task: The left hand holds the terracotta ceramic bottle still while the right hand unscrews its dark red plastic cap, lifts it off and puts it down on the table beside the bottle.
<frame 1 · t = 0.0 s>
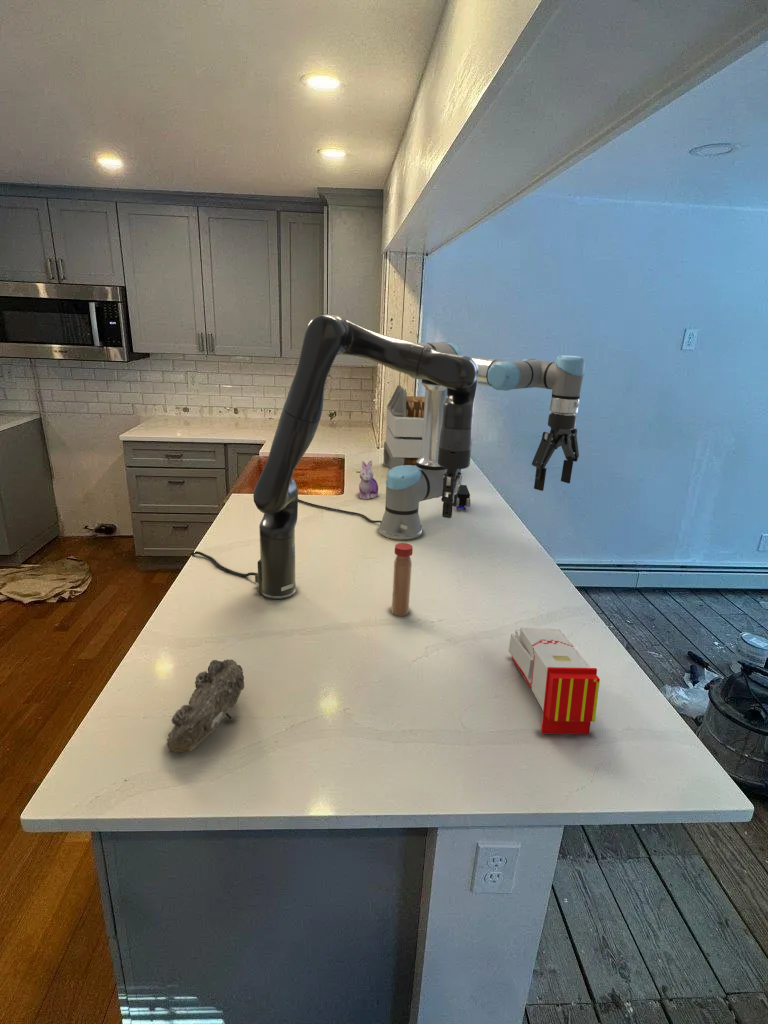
left hand: (449, 511, 137), 29 cm above the counter, tool pointing down, fingers open, 8 cm apart
right hand: (552, 485, 166), 28 cm above the counter, tool pointing down, fingers open, 13 cm apart
fossil: (212, 717, 108), on the counter
figurine: (368, 496, 238), on the counter
figurine character: (459, 506, 231), on the counter
bottle: (400, 611, 149), on the counter
toy: (543, 689, 120), on the counter
feather: (277, 517, 210), on the counter
cap: (403, 547, 143), point 18 cm above the counter, screwed on, not yet turned
grey tiered storage bin: (419, 473, 275), on the counter
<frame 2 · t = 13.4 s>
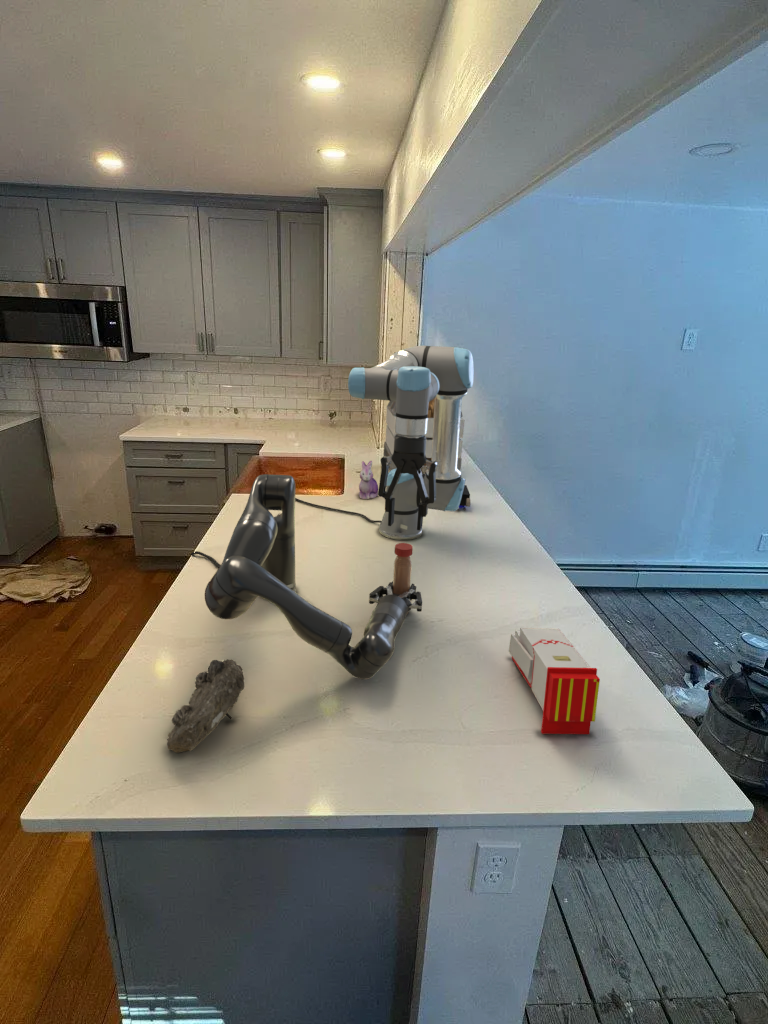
left hand: (403, 585, 149), 6 cm above the counter, tool horizontal, fingers closed on bottle, 4 cm apart
right hand: (405, 526, 141), 24 cm above the counter, tool pointing down, fingers open, 7 cm apart
bottle: (400, 611, 149), on the counter, touching left hand
everything else where it was.
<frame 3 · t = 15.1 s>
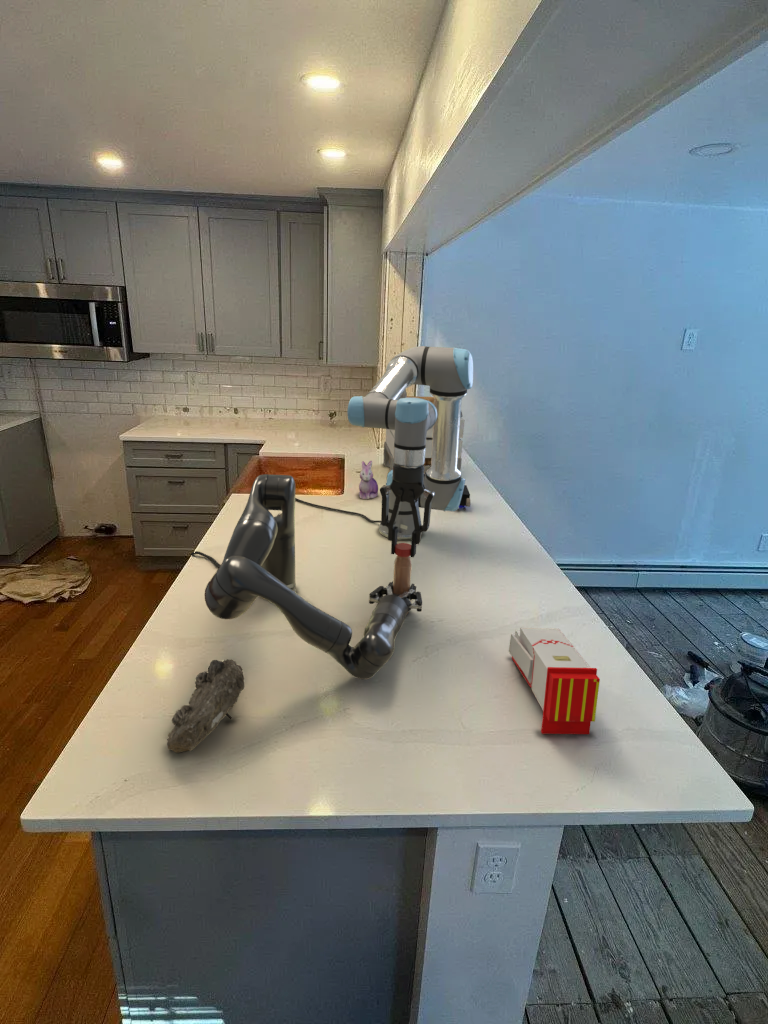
left hand: (403, 585, 149), 6 cm above the counter, tool horizontal, fingers closed on bottle, 4 cm apart
right hand: (403, 553, 143), 17 cm above the counter, tool pointing down, fingers closed on cap, 4 cm apart
bottle: (400, 611, 149), on the counter, touching left hand
cap: (403, 547, 143), point 18 cm above the counter, screwed on, not yet turned, touching right hand
everything else where it was.
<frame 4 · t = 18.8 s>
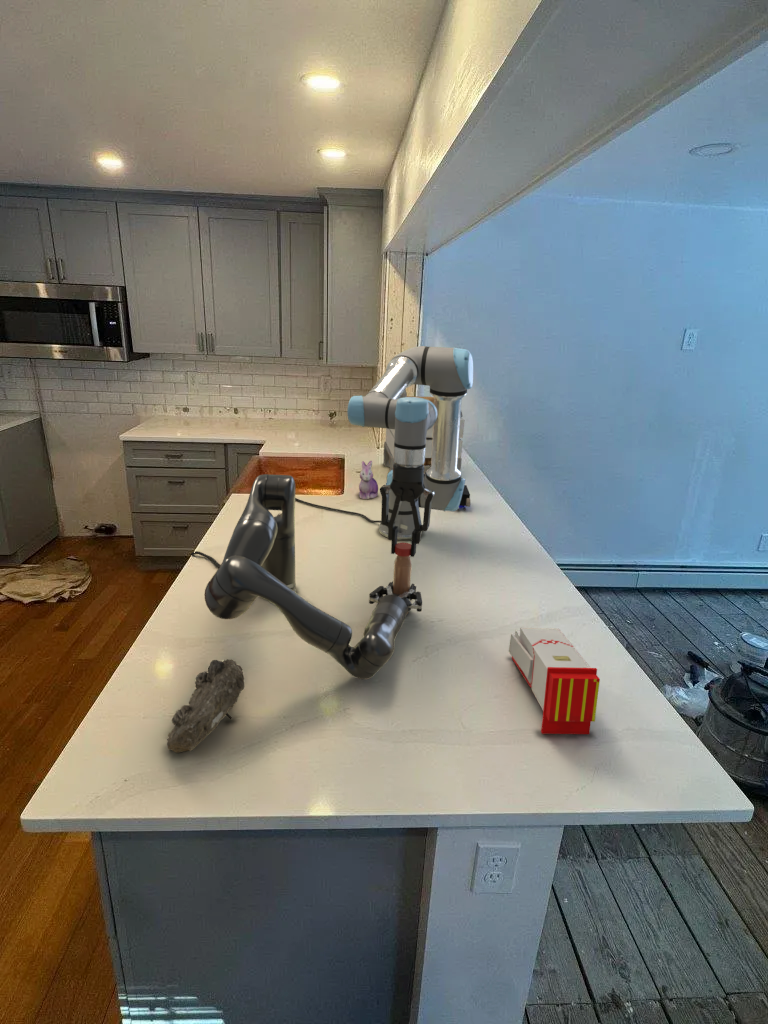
left hand: (403, 585, 149), 6 cm above the counter, tool horizontal, fingers closed on bottle, 4 cm apart
right hand: (403, 553, 143), 17 cm above the counter, tool pointing down, fingers closed on cap, 4 cm apart
bottle: (400, 611, 149), on the counter, touching left hand
cap: (403, 546, 143), point 18 cm above the counter, turned 130° so far, risen 0.1 cm, still on its thread, touching right hand
everything else where it was.
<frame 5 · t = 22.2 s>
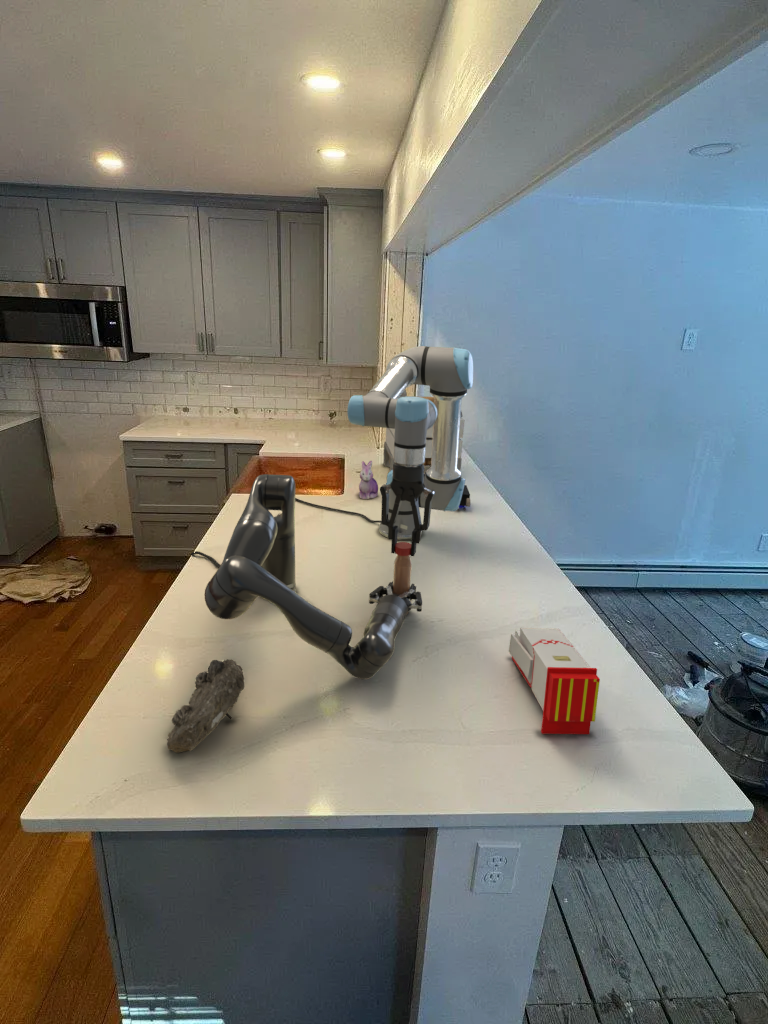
left hand: (403, 585, 149), 6 cm above the counter, tool horizontal, fingers closed on bottle, 4 cm apart
right hand: (403, 552, 143), 17 cm above the counter, tool pointing down, fingers closed on cap, 4 cm apart
bottle: (400, 611, 149), on the counter, touching left hand
cap: (403, 546, 143), point 19 cm above the counter, turned 259° so far, risen 0.3 cm, still on its thread, touching right hand
everything else where it was.
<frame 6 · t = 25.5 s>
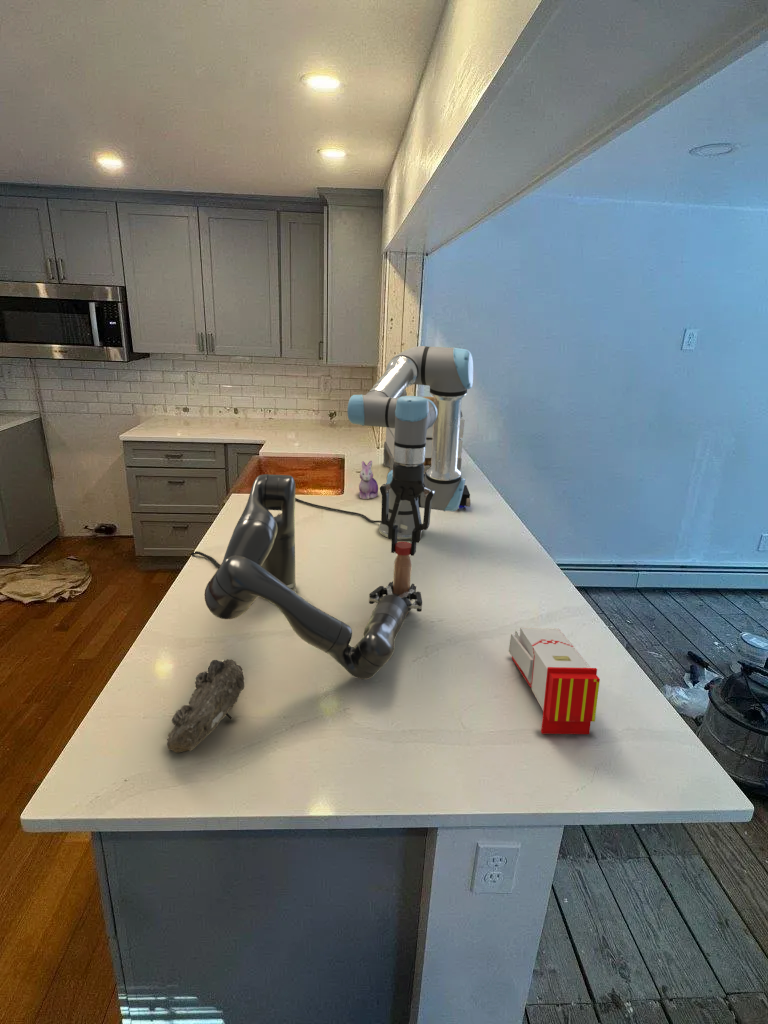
left hand: (403, 585, 149), 6 cm above the counter, tool horizontal, fingers closed on bottle, 4 cm apart
right hand: (403, 552, 143), 17 cm above the counter, tool pointing down, fingers closed on cap, 4 cm apart
bottle: (400, 611, 149), on the counter, touching left hand
cap: (403, 545, 142), point 19 cm above the counter, turned 389° so far, risen 0.4 cm, still on its thread, touching right hand
everything else where it was.
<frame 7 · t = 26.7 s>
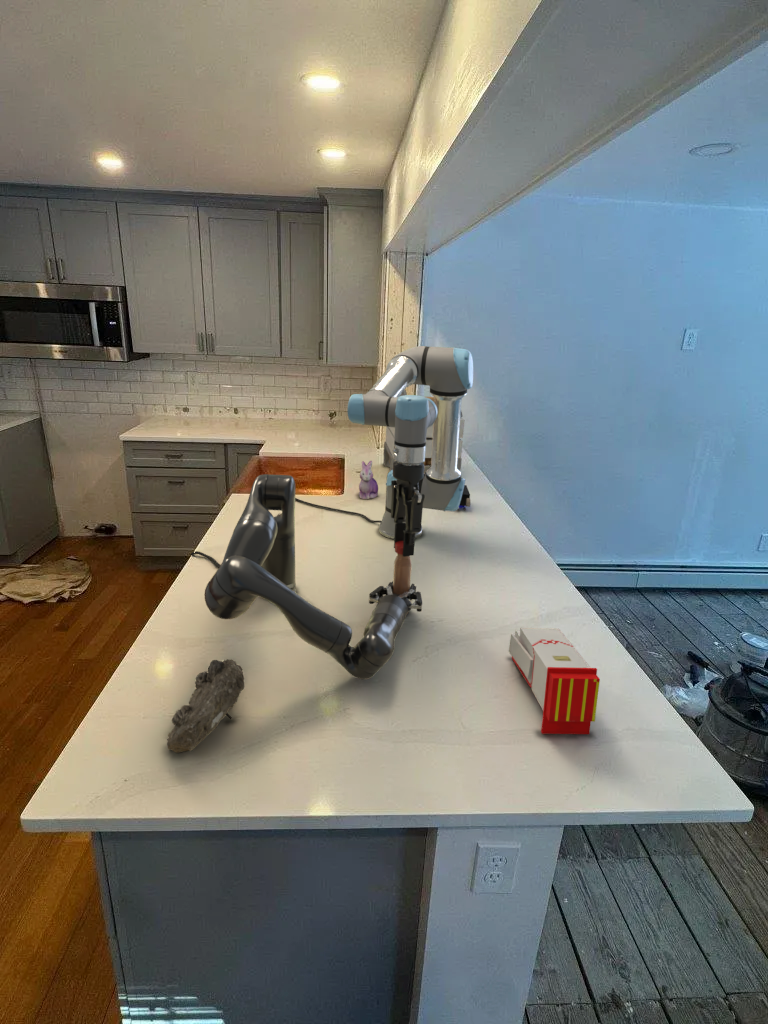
left hand: (403, 585, 149), 6 cm above the counter, tool horizontal, fingers closed on bottle, 4 cm apart
right hand: (403, 551, 143), 17 cm above the counter, tool pointing down, fingers closed on cap, 4 cm apart
bottle: (400, 611, 149), on the counter, touching left hand
cap: (404, 545, 142), point 19 cm above the counter, off its thread, touching right hand
everything else where it was.
when the right hand's fingers open (1 cm above the counter, at t = 31.9 s): cap stays where it is, point 2 cm above the counter.
when the left hand's fingers open (6 cm above the counter, at t = 33.1 s): bottle stays where it is, on the counter.
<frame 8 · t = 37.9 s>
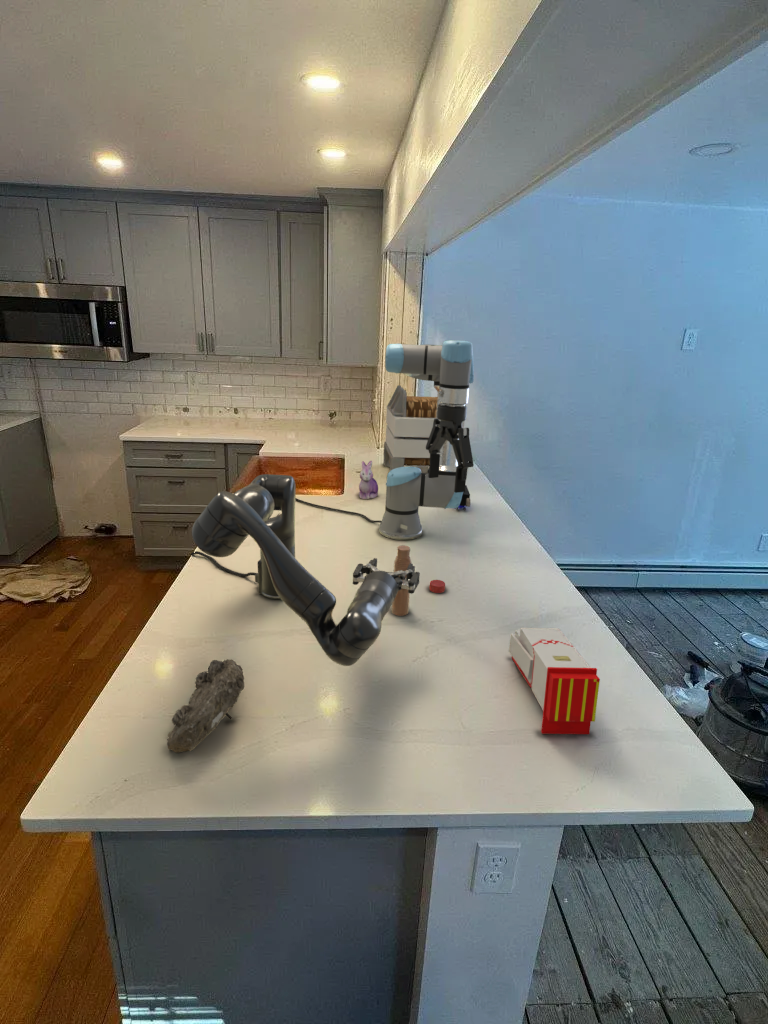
left hand: (393, 564, 132), 19 cm above the counter, tool horizontal, fingers open, 8 cm apart
right hand: (445, 484, 151), 31 cm above the counter, tool pointing down, fingers open, 13 cm apart
bottle: (400, 611, 149), on the counter
cap: (437, 584, 161), point 2 cm above the counter, off its thread
everything else where it was.
at the end: cap came off its thread; cap point 1.7 cm above the counter; the left hand is holding nothing; the right hand is holding nothing; bottle tilted 0°; bottle moved 0.0 cm from its start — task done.
